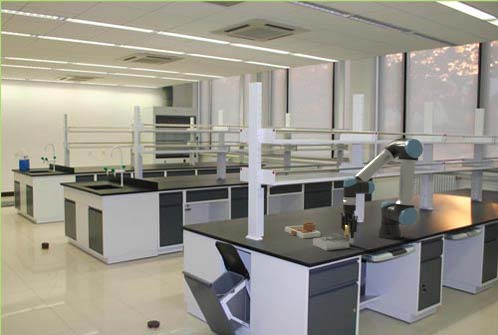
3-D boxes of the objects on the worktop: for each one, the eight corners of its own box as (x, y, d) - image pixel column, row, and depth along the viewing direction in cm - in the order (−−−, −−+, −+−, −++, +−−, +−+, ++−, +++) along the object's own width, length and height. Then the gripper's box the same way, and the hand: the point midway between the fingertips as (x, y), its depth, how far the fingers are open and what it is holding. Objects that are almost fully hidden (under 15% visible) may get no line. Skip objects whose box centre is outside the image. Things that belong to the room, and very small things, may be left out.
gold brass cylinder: (349, 243, 269) (349, 224, 269) (353, 245, 265) (354, 225, 265) (343, 244, 268) (343, 224, 267) (347, 246, 264) (348, 226, 263)
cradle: (301, 229, 309) (301, 225, 309) (320, 236, 288) (320, 232, 288) (284, 231, 304) (285, 226, 304) (302, 238, 283) (302, 233, 282)
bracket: (309, 231, 304) (310, 222, 304) (317, 234, 297) (318, 224, 297) (288, 233, 295) (289, 223, 295) (296, 236, 288) (296, 225, 288)
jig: (335, 242, 272) (335, 232, 272) (349, 247, 259) (349, 237, 259) (313, 244, 266) (313, 235, 265) (326, 250, 253) (326, 240, 252)
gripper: (335, 202, 271) (334, 239, 273) (353, 206, 255) (352, 246, 257) (345, 201, 274) (344, 238, 276) (364, 205, 258) (362, 244, 260)
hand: (348, 242), depth 266 cm, fingers closed on gold brass cylinder, 4 cm apart
